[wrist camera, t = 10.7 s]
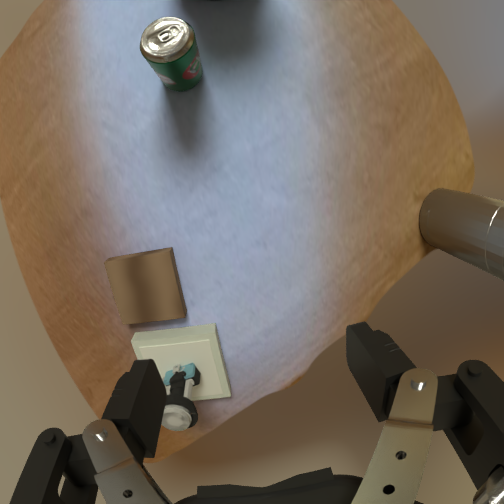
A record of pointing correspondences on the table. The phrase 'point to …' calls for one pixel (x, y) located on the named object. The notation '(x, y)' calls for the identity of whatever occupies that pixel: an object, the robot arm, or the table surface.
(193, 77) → the soda can
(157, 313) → the walnut stand
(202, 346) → the cream tray
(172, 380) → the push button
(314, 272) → the table surface
